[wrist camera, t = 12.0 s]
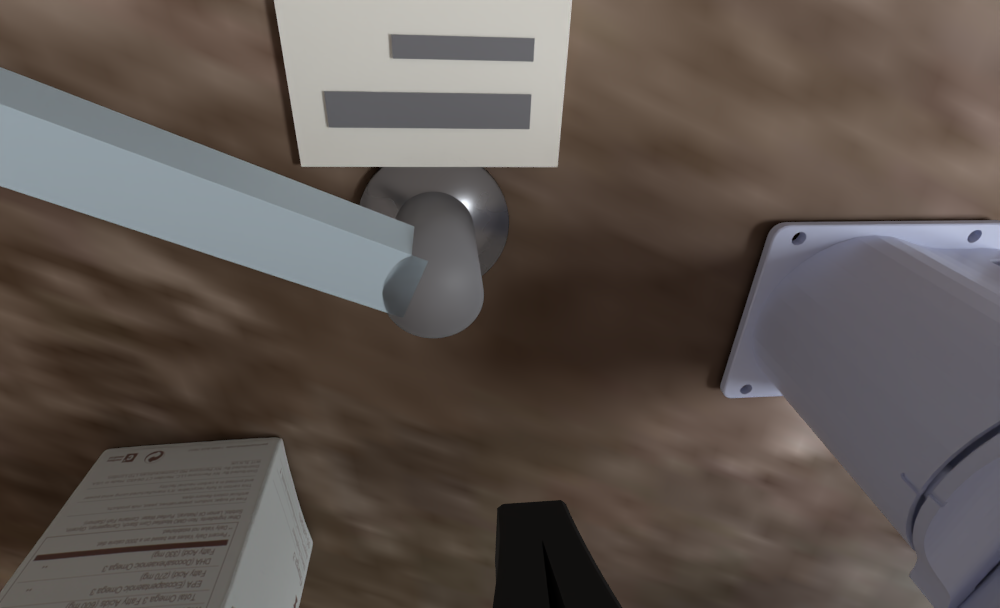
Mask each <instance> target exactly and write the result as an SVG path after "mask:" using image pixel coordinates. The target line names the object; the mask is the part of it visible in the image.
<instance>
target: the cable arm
mask: <svg viewBox="0 0 1000 608" xmlns="http://www.w3.org/2000/svg"><path fill="white" fill-rule="evenodd" d="M0 186H2V187H5V188H8V189H11V190H14V191H17V192H20V193H23V194H26V195H29V196H32V197H35V198H38V199H41V200H45V201H48V202H51V203H54V204H57V205H60V206H63V207H66V208H69V209H72V210H75V211H78V212H81V213H84V214H87V215H90V216H93V217H96V218H99V219H102V220H106V221H109V222H112V223H115V224H118V225H121V226H124V227H127V228H130V229H133V230H136V231H139V232H142V233H145V234H148V235H151V236H154V237H157V238H160V239H163V240H167V241H170V242H173V243H176V244H179V245H182V246H185V247H188V248H191V249H194V250H197V251H200V252H203V253H206V254H209V255H212V256H215V257H218V258H221V259H224V260H228V261H231V262H234V263H237V264H240V265H243V266H246V267H249V268H252V269H255V270H258V271H261V272H264V273H267V274H270V275H273V276H276V277H279V278H282V279H285V280H289V281H292V282H295V283H298V284H301V285H304V286H307V287H310V288H313V289H316V290H319V291H322V292H325V293H328V294H331V295H334V296H337V297H340V298H343V299H346V300H349V301H353V302H356V303H359V304H362V305H365V306H368V307H371V308H374V309H377V310H380V311H383V312H386V313H387V314H388V315H389V317H390V318H391V319H392V321H393V322H394V323H395V324H396V325H397V326H399V327H400V328H401V329H403V330H404V331H406V332H408V333H410V334H413V335H415V336H419V337H424V338H443V337H448V336H451V335H454V334H456V333H459V332H460V331H462V330H464V329H465V328H467V327H468V326H469V325H470V324H471V323H472V322H473V321H474V320H475V319H476V318H477V316H478V314H479V313H480V310H481V308H482V305H483V299H484V290H483V283H482V277H481V270H480V263H479V257H478V250H477V243H476V237H475V230H474V224H473V219H472V216H471V214H470V212H469V210H468V209H467V208H466V206H465V205H464V204H463V203H462V202H461V201H459V200H458V199H457V198H455V197H453V196H451V195H449V194H446V193H442V192H425V193H421V194H418V195H416V196H414V197H412V198H410V199H409V200H408V201H406V202H405V203H404V204H403V206H402V207H401V208H400V210H399V211H398V214H397V216H396V219H394V218H391V217H388V216H386V215H383V214H381V213H378V212H375V211H373V210H370V209H368V208H365V207H362V206H360V205H357V204H355V203H352V202H349V201H347V200H344V199H342V198H339V197H336V196H334V195H331V194H329V193H326V192H323V191H321V190H318V189H316V188H313V187H310V186H308V185H305V184H303V183H300V182H297V181H295V180H292V179H290V178H287V177H284V176H282V175H279V174H277V173H274V172H271V171H269V170H266V169H264V168H261V167H259V166H256V165H253V164H251V163H248V162H246V161H243V160H240V159H238V158H235V157H233V156H230V155H227V154H225V153H222V152H220V151H217V150H214V149H212V148H209V147H207V146H204V145H201V144H199V143H196V142H194V141H191V140H188V139H186V138H183V137H181V136H178V135H175V134H173V133H170V132H168V131H165V130H162V129H160V128H157V127H155V126H152V125H149V124H147V123H144V122H142V121H139V120H136V119H134V118H131V117H129V116H126V115H124V114H121V113H118V112H116V111H113V110H111V109H108V108H105V107H103V106H100V105H98V104H95V103H92V102H90V101H87V100H85V99H82V98H79V97H77V96H74V95H72V94H69V93H66V92H64V91H61V90H59V89H56V88H53V87H51V86H48V85H46V84H43V83H40V82H38V81H35V80H33V79H30V78H27V77H25V76H22V75H20V74H17V73H14V72H12V71H9V70H7V69H4V68H1V67H0Z"/></svg>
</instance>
